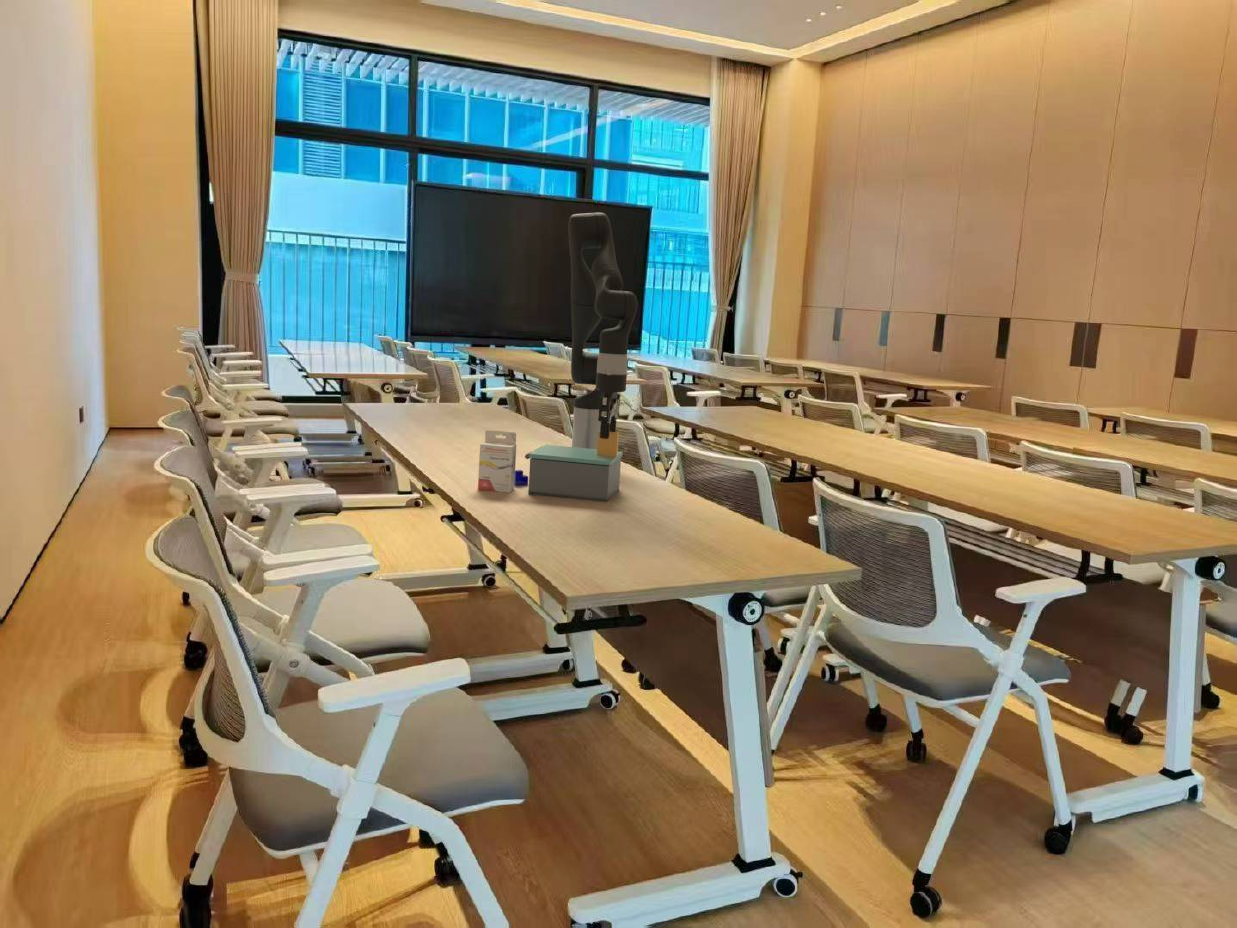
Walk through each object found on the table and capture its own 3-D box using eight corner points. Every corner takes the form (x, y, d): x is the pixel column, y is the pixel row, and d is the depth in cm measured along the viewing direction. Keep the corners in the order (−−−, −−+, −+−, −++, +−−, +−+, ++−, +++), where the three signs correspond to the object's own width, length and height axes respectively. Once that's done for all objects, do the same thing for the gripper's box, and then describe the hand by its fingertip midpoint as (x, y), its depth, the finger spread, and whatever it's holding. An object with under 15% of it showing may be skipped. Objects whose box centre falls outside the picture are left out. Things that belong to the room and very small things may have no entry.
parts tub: (545, 483, 250) (546, 449, 248) (618, 490, 246) (621, 456, 245) (528, 494, 234) (530, 458, 233) (606, 502, 231) (609, 466, 229)
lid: (541, 449, 249) (543, 421, 247) (622, 457, 245) (624, 428, 244) (523, 459, 233) (525, 429, 231) (610, 467, 229) (612, 437, 228)
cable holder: (527, 485, 246) (528, 470, 245) (515, 486, 244) (516, 471, 243) (515, 480, 252) (516, 465, 252) (503, 480, 251) (504, 465, 250)
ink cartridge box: (477, 490, 236) (479, 432, 233) (481, 486, 240) (484, 429, 238) (510, 492, 235) (513, 434, 232) (514, 489, 240) (517, 432, 237)
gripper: (602, 369, 241) (599, 432, 244) (590, 372, 227) (586, 438, 230) (631, 371, 240) (627, 434, 242) (621, 374, 226) (616, 441, 229)
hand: (607, 436), depth 236 cm, fingers open, 8 cm apart
